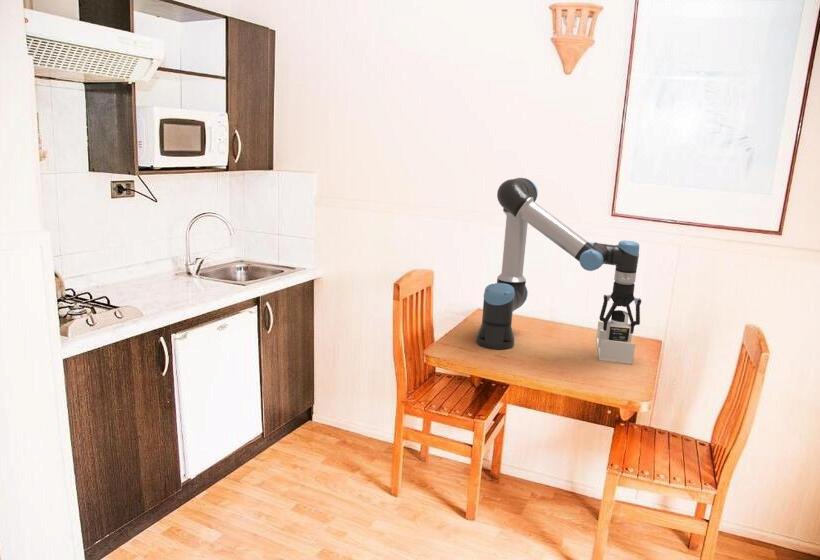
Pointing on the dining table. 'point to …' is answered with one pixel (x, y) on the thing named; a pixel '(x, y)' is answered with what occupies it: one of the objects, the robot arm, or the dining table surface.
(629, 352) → the rack
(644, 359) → the dining table surface
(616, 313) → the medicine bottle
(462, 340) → the dining table surface
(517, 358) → the dining table surface
